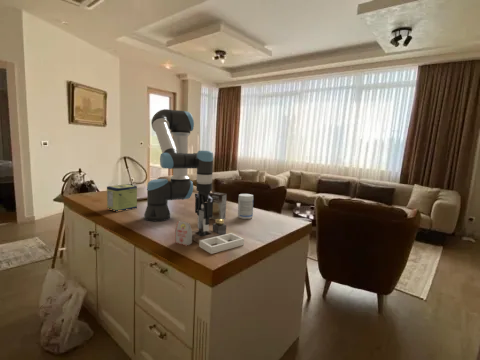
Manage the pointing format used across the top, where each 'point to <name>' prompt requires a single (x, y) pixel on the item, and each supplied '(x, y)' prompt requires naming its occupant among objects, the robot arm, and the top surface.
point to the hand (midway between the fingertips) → (203, 229)
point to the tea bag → (183, 233)
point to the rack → (221, 243)
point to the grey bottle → (201, 222)
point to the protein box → (121, 197)
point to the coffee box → (219, 205)
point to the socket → (210, 233)
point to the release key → (219, 221)
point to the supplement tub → (245, 206)
